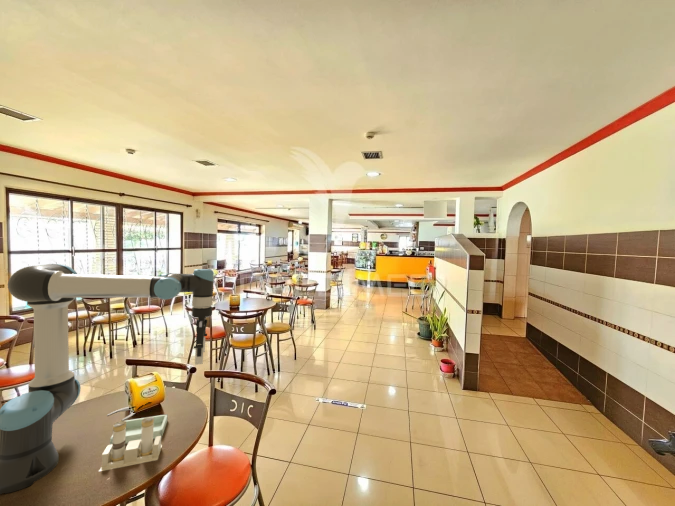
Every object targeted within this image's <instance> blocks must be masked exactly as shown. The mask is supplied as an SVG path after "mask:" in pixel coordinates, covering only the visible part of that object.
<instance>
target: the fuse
mask: <svg viewBox="0 0 675 506" xmlns="http://www.w3.org/2000/svg"><path fill="white" fill-rule="evenodd" d="M146 417H147V418H146ZM146 417H143V418H144V419H143V420H142V432H141V455H140V457H142V456H147V455H152V453H153V444H154V439H153V425H154V417H152V416H146Z"/></svg>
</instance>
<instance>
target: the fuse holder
mask: <svg viewBox="0 0 675 506" xmlns="http://www.w3.org/2000/svg"><path fill="white" fill-rule="evenodd" d="M112 446H113V444H111V445H110V444H108V445H107V446H106V448H105V449H104V450H103V452H102V453H101V466H100V469H98V472H105V471H109V470H114V469H119V468H120V469H121V468H124V467H129V466H133V465H139V464H145V463H149V462H154V461H155V462H156V461H158V460H159V457H160V453H161V450H162V447H163V444H162V437H161V436H157V437H156V438H155V439H154V440H153V453H152V455H147V456H142V457H140V455H141V439H140V440H134V441H129V443H127V445H126V446H125V451H124V460H121V461H116V462H112Z"/></svg>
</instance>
